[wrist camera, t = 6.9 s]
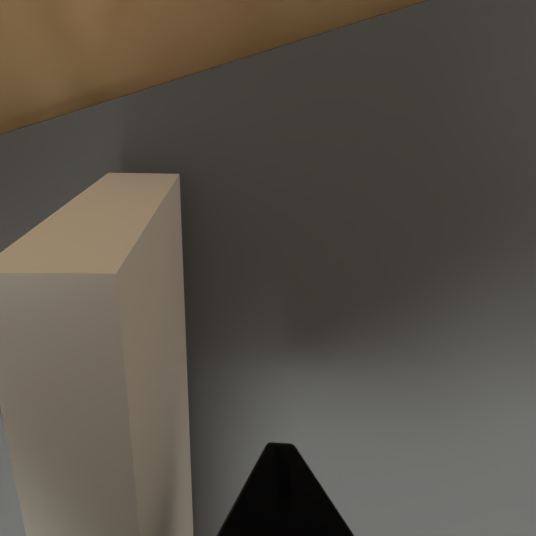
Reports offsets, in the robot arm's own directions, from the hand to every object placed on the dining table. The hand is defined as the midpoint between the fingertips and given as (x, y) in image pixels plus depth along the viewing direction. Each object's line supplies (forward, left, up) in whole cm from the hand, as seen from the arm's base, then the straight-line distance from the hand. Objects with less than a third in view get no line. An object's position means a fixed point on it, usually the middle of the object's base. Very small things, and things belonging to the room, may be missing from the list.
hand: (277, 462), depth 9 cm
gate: (-3, -3, -2) cm, 5 cm away
